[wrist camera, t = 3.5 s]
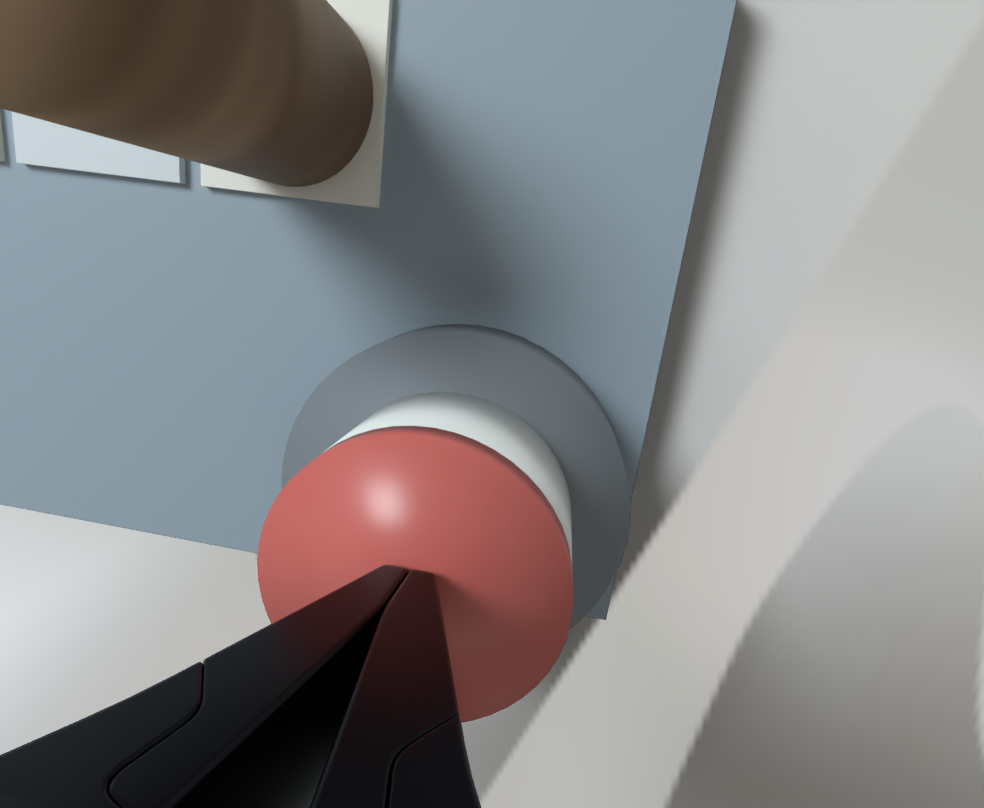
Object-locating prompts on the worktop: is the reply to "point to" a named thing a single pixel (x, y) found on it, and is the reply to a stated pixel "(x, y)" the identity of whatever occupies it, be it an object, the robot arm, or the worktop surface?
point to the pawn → (196, 79)
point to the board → (364, 273)
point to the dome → (438, 534)
